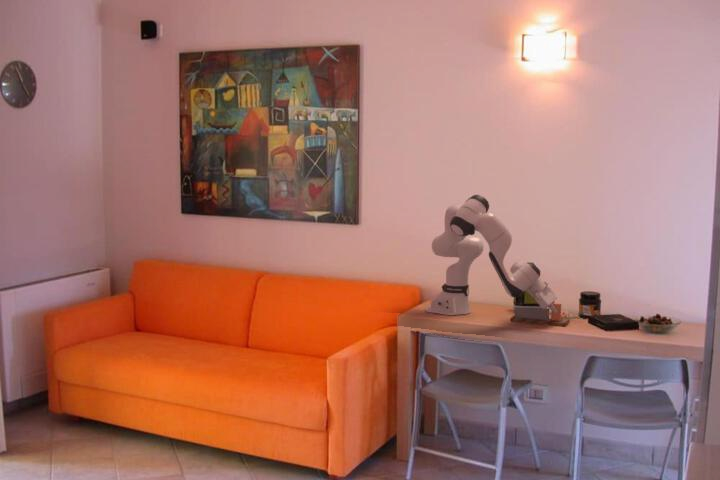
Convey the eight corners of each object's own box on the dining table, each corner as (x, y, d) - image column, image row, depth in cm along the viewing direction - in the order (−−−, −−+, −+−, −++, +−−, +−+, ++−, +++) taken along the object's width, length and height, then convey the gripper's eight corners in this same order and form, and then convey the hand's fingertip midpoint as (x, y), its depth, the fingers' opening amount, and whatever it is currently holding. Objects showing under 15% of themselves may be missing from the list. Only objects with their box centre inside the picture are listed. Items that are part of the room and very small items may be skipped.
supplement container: (584, 319, 377) (585, 295, 375) (574, 315, 387) (575, 291, 386) (604, 318, 379) (605, 294, 378) (593, 314, 389) (594, 290, 388)
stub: (551, 320, 369) (551, 303, 368) (552, 319, 371) (552, 302, 370) (559, 320, 367) (560, 304, 366) (560, 319, 370) (561, 303, 368)
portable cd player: (639, 330, 358) (639, 321, 357) (605, 331, 355) (605, 323, 354) (620, 322, 374) (620, 314, 373) (587, 323, 371) (588, 315, 370)
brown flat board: (510, 321, 374) (510, 318, 373) (515, 317, 383) (515, 313, 382) (565, 326, 363) (565, 323, 362) (569, 322, 372) (569, 318, 371)
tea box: (542, 309, 400) (543, 281, 398) (545, 313, 390) (546, 284, 388) (512, 309, 401) (513, 280, 400) (514, 313, 391) (515, 284, 390)
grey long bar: (514, 316, 376) (514, 306, 376) (515, 315, 379) (516, 305, 378) (547, 320, 370) (548, 309, 369) (548, 318, 372) (549, 308, 371)
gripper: (537, 288, 361) (558, 311, 358) (546, 281, 379) (566, 303, 376) (528, 297, 363) (548, 320, 360) (537, 289, 382) (556, 311, 379)
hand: (557, 311), depth 368 cm, fingers closed on stub, 2 cm apart
